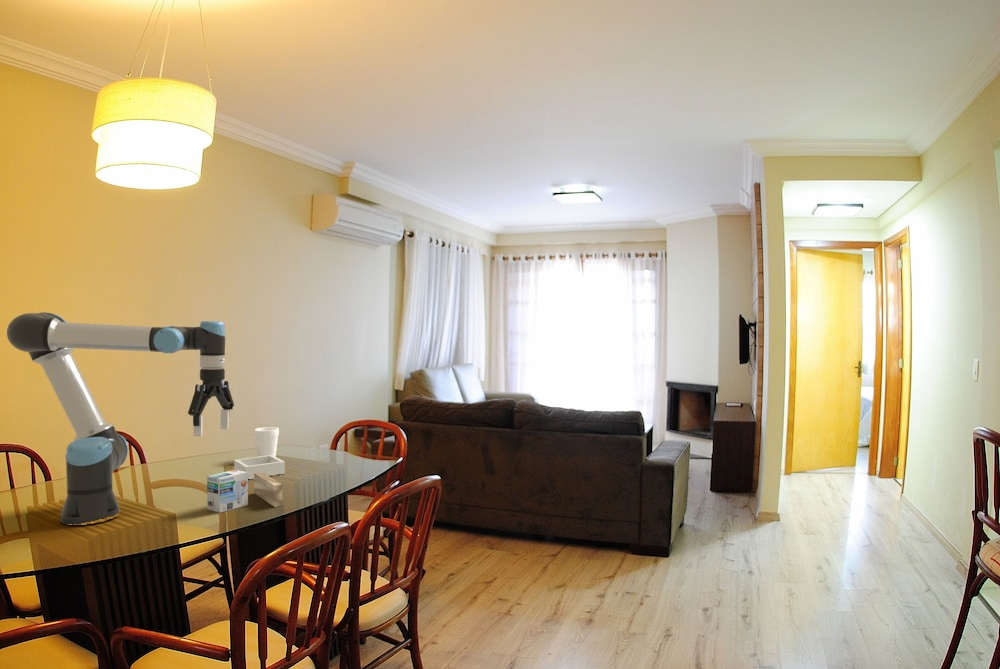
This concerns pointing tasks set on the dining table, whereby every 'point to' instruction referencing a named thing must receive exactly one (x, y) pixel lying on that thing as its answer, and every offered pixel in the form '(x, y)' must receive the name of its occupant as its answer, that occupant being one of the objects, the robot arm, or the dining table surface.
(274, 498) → the board
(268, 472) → the frame
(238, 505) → the light bulb box
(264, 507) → the dining table surface
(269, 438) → the foam cup
